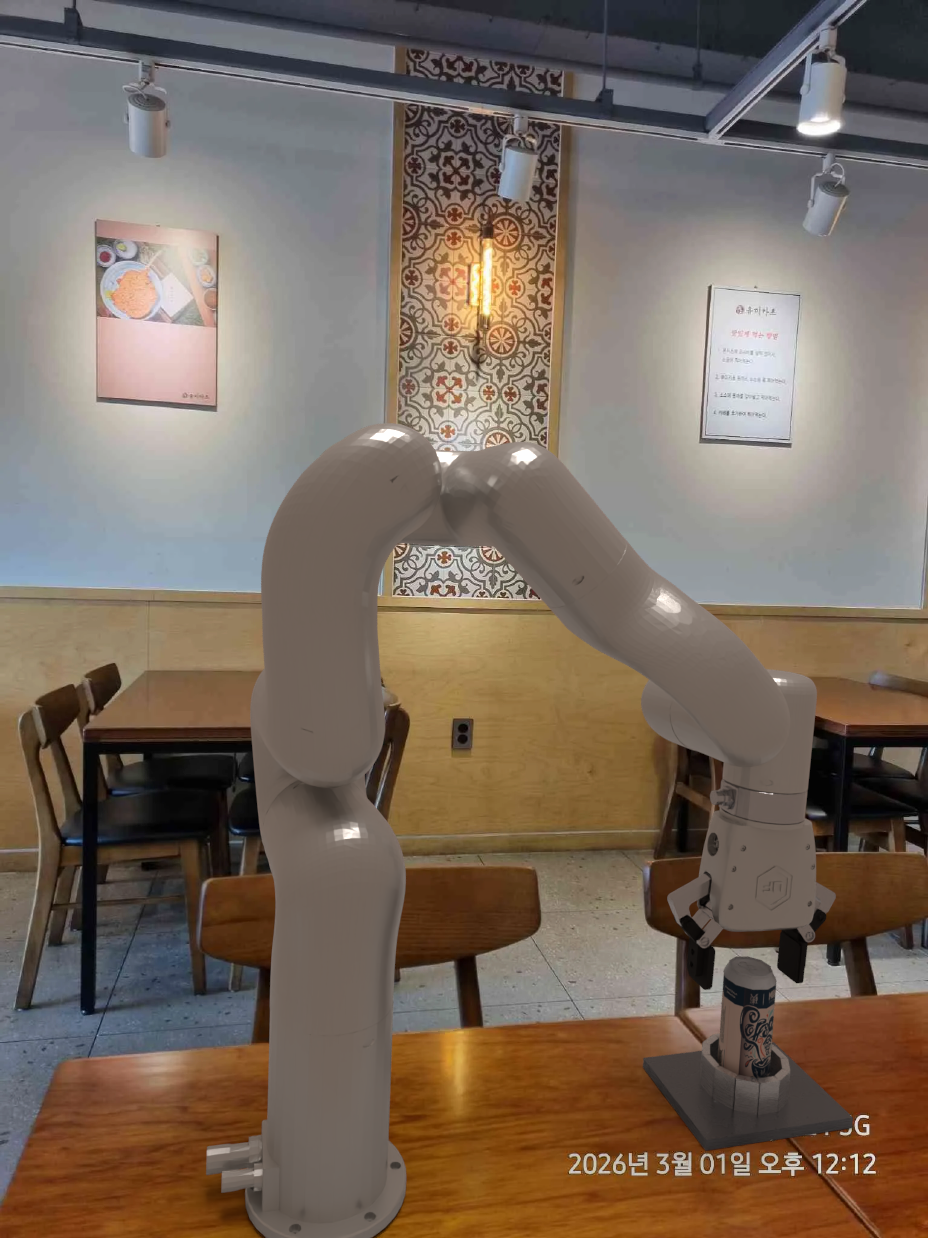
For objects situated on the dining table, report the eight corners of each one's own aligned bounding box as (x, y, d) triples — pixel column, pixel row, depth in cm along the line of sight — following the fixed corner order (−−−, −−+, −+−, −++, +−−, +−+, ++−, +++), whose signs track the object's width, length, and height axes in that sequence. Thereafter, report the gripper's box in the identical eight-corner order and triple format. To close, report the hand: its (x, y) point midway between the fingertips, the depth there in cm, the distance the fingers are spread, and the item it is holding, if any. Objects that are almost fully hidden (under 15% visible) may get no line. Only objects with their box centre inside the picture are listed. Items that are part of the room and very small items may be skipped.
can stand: (705, 1151, 73) (708, 1107, 73) (642, 1067, 84) (645, 1029, 84) (852, 1128, 77) (855, 1086, 76) (772, 1051, 88) (775, 1014, 88)
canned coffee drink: (751, 1109, 77) (760, 984, 76) (706, 1083, 81) (714, 963, 80) (777, 1089, 80) (786, 968, 79) (732, 1065, 84) (741, 949, 83)
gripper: (700, 816, 72) (683, 1006, 74) (869, 814, 77) (850, 994, 78) (659, 791, 80) (644, 965, 81) (815, 791, 84) (799, 956, 85)
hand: (745, 979), depth 79 cm, fingers open, 9 cm apart
